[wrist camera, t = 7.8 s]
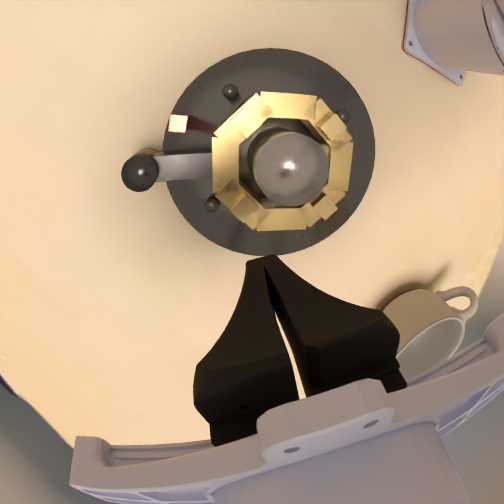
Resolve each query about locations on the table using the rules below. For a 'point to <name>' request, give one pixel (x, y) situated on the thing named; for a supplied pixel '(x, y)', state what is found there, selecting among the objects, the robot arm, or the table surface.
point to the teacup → (428, 327)
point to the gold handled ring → (227, 161)
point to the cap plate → (218, 109)
